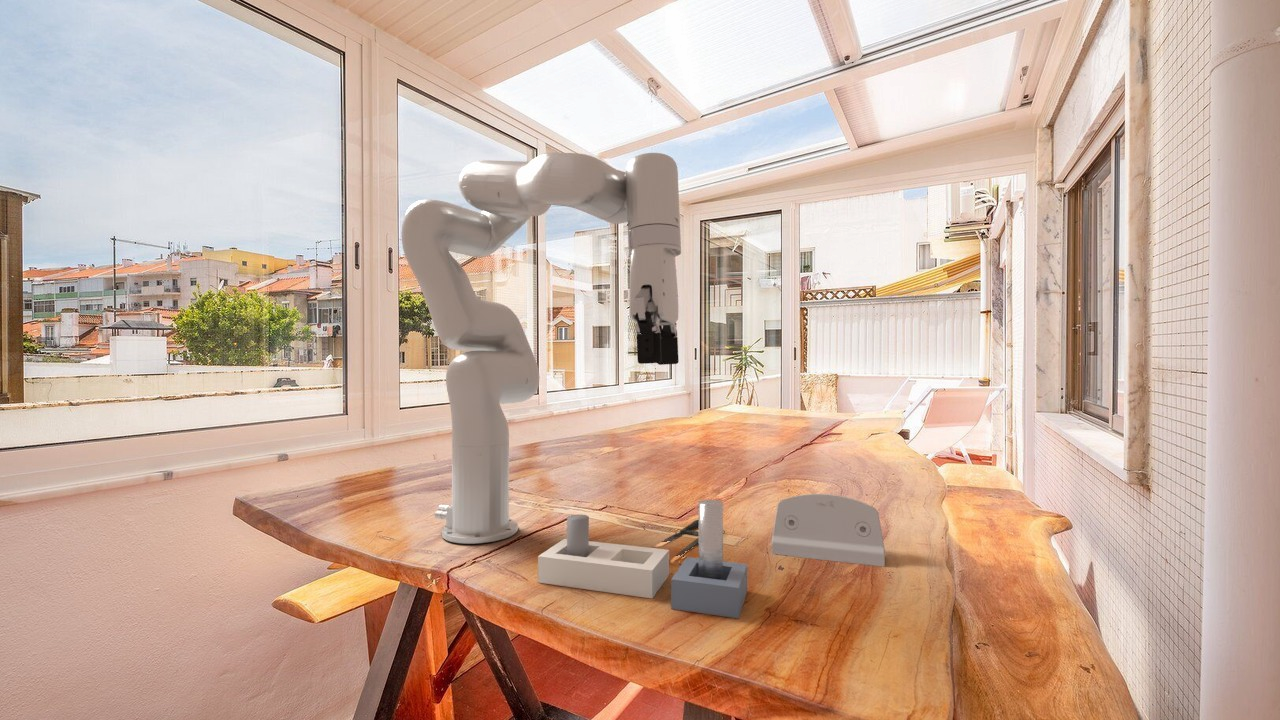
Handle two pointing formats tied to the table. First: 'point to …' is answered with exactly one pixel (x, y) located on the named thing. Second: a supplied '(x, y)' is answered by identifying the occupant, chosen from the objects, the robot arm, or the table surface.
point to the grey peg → (711, 539)
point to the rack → (602, 564)
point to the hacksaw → (687, 531)
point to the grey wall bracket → (828, 530)
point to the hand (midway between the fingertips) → (659, 363)
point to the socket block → (709, 589)
